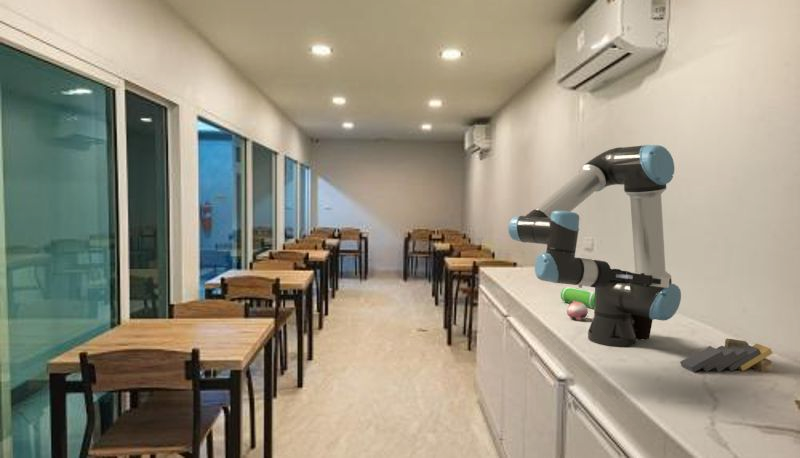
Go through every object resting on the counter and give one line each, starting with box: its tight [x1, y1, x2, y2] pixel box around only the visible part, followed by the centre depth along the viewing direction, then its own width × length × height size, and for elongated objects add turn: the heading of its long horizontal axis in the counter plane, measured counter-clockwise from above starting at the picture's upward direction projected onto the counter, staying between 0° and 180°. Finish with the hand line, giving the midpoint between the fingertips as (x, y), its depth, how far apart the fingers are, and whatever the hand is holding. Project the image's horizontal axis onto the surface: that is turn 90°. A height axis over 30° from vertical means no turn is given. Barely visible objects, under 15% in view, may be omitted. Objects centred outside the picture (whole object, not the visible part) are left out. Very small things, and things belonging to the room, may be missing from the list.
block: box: [750, 358, 773, 373], centre depth 150 cm, size 3×6×3 cm, turn 6°
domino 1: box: [679, 346, 724, 373], centre depth 148 cm, size 2×5×10 cm
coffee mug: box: [631, 314, 653, 341], centre depth 183 cm, size 12×9×10 cm
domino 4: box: [724, 344, 761, 372], centre depth 150 cm, size 2×5×10 cm
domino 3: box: [712, 345, 748, 372], centre depth 149 cm, size 2×5×10 cm
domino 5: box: [736, 343, 773, 372], centre depth 150 cm, size 2×5×10 cm
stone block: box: [724, 338, 749, 348], centre depth 159 cm, size 6×12×5 cm, turn 157°
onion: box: [566, 301, 589, 321], centre depth 207 cm, size 8×8×7 cm
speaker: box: [560, 286, 595, 309], centre depth 233 cm, size 18×7×8 cm, turn 34°
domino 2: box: [700, 345, 736, 373], centre depth 149 cm, size 2×5×10 cm
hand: (667, 283), depth 147 cm, fingers closed
